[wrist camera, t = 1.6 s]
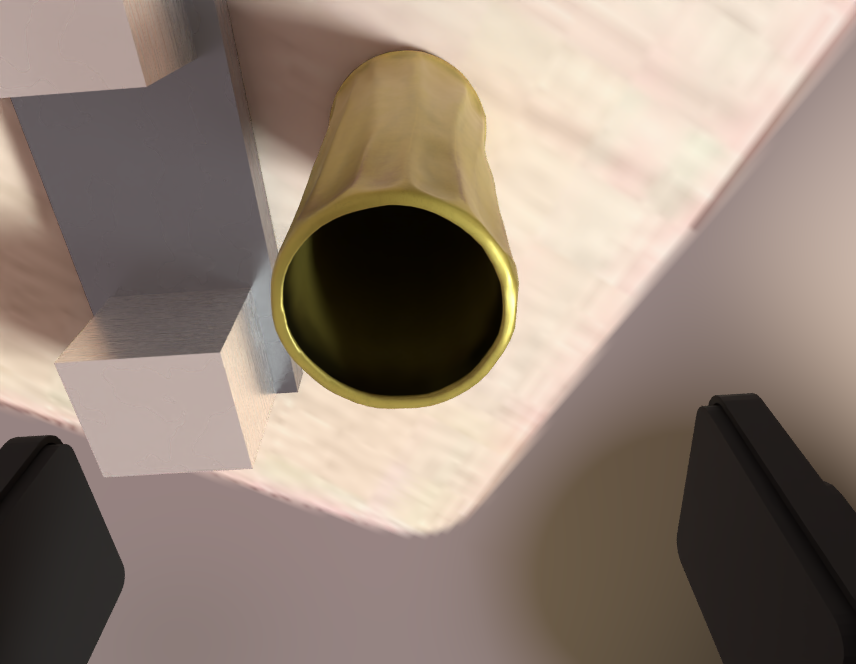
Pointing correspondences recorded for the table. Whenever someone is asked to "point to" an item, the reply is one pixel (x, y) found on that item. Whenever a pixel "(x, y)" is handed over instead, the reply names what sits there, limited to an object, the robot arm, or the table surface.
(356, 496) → the table surface
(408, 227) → the vase
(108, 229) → the rail board
